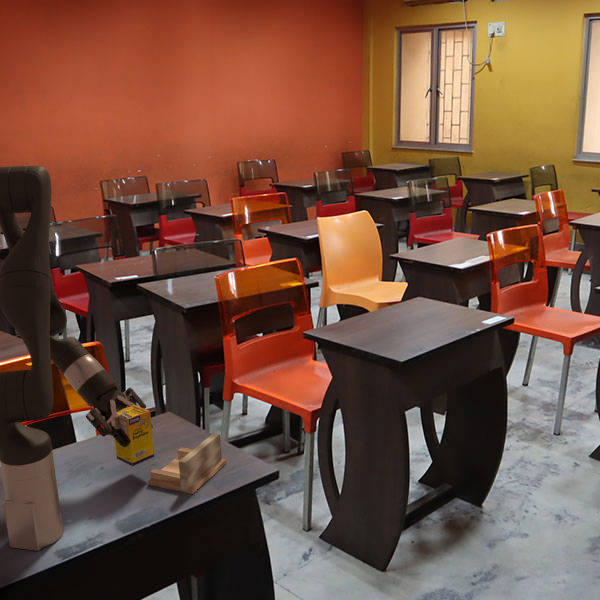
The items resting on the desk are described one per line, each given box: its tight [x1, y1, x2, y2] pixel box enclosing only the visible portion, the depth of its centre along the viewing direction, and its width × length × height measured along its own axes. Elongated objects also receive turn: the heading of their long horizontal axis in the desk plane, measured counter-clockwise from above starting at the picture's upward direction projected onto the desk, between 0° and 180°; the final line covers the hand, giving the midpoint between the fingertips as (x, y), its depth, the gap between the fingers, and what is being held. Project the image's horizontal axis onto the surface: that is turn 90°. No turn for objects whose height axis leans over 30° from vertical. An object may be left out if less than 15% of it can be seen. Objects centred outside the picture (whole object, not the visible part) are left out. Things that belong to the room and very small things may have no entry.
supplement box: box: [114, 405, 155, 467], centre depth 164 cm, size 6×6×11 cm
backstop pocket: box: [147, 432, 227, 495], centre depth 164 cm, size 14×11×7 cm
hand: (139, 437), depth 163 cm, fingers closed on supplement box, 7 cm apart
